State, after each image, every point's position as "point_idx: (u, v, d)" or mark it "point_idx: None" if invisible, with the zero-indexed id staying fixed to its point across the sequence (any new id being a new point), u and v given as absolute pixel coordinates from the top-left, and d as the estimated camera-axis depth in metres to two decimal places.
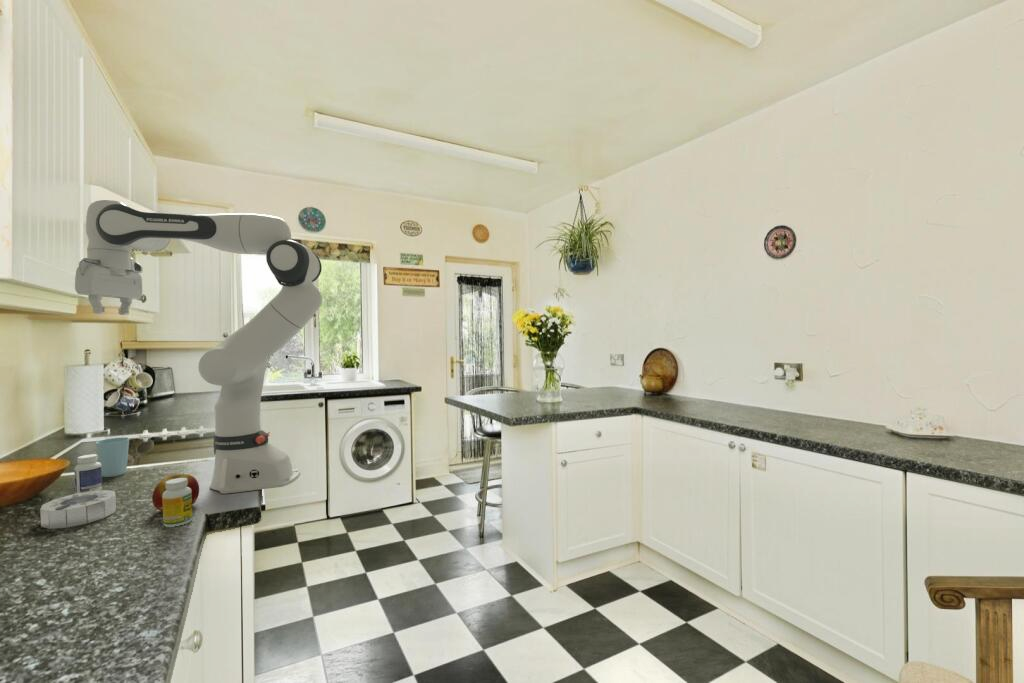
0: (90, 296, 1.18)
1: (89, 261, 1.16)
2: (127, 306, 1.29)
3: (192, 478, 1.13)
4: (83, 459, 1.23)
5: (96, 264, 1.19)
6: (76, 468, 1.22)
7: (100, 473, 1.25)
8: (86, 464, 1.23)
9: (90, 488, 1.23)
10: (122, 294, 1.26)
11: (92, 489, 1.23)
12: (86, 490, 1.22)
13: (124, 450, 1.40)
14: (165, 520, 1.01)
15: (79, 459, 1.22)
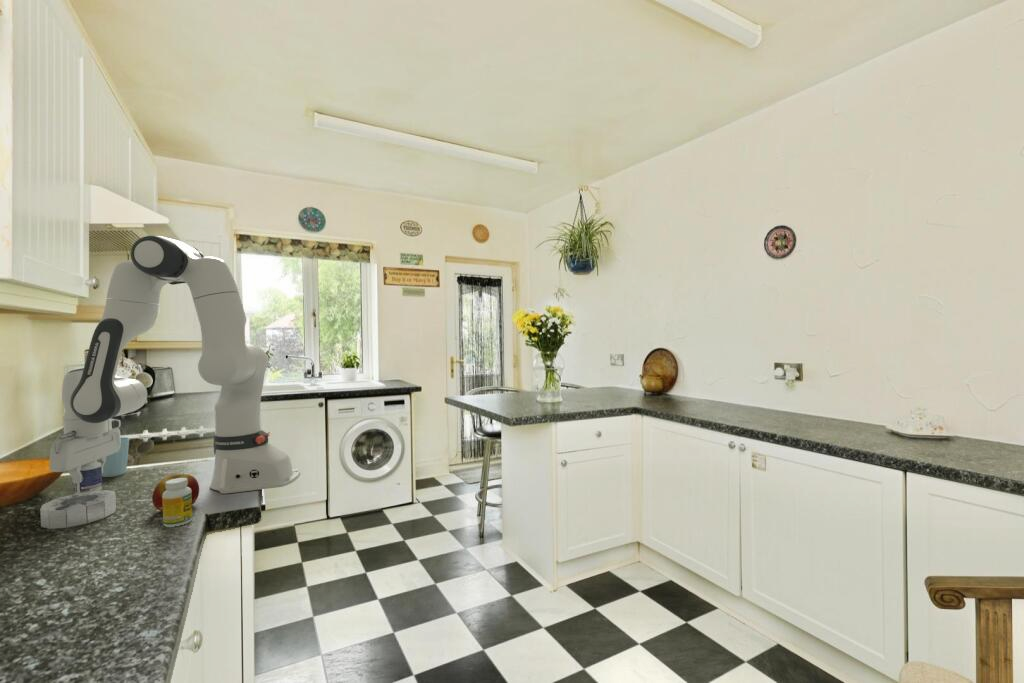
0: None
1: (64, 437, 1.16)
2: (101, 465, 1.28)
3: (192, 478, 1.13)
4: None
5: (72, 436, 1.19)
6: None
7: (100, 473, 1.25)
8: (86, 464, 1.23)
9: (90, 488, 1.23)
10: (99, 456, 1.26)
11: (92, 489, 1.23)
12: (86, 490, 1.22)
13: (124, 450, 1.40)
14: (165, 520, 1.01)
15: None
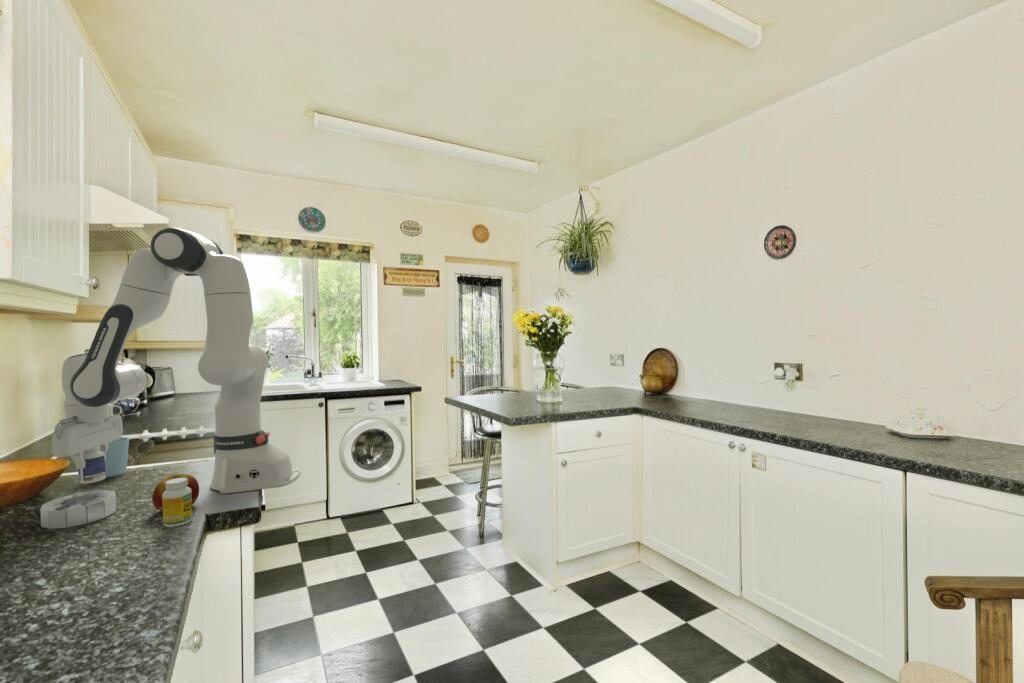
0: None
1: (65, 422, 1.16)
2: (104, 452, 1.28)
3: (192, 478, 1.13)
4: None
5: (73, 422, 1.19)
6: None
7: (103, 462, 1.25)
8: (88, 453, 1.23)
9: (94, 477, 1.23)
10: (101, 442, 1.26)
11: (96, 478, 1.23)
12: (90, 479, 1.22)
13: (124, 450, 1.40)
14: (165, 520, 1.01)
15: None
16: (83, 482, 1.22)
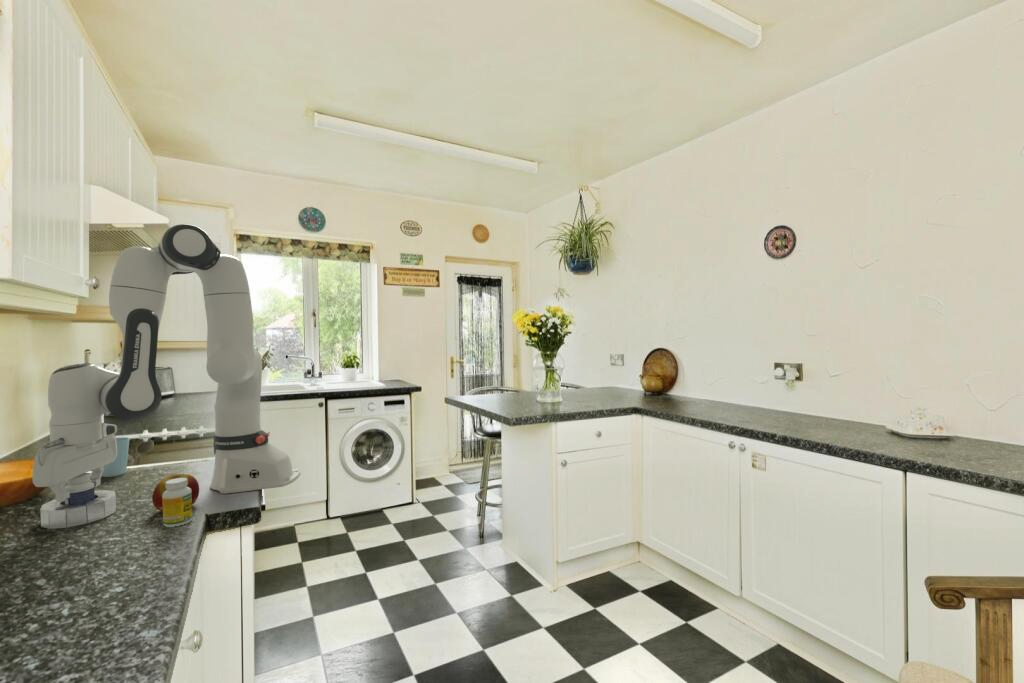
0: None
1: (50, 446, 0.99)
2: (98, 476, 1.12)
3: (192, 478, 1.13)
4: (73, 479, 1.05)
5: (59, 445, 1.02)
6: None
7: (93, 495, 1.08)
8: (76, 485, 1.06)
9: None
10: (92, 467, 1.09)
11: None
12: None
13: (124, 450, 1.40)
14: (165, 520, 1.01)
15: None
16: None
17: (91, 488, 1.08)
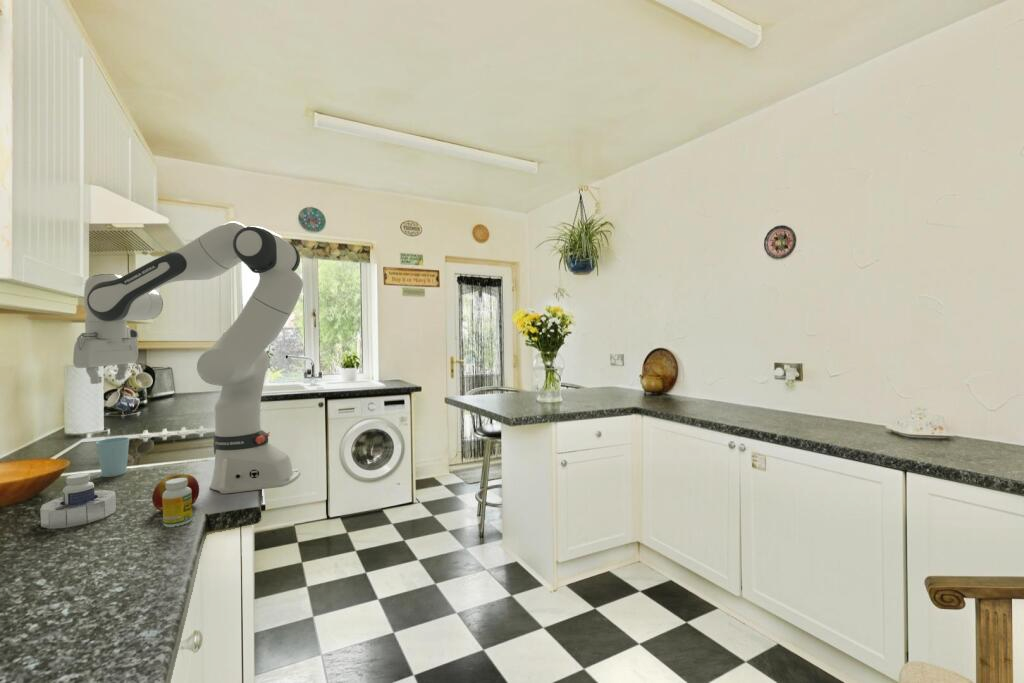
0: (88, 368, 1.23)
1: (87, 335, 1.22)
2: (123, 371, 1.35)
3: (192, 478, 1.13)
4: (73, 479, 1.05)
5: (93, 337, 1.24)
6: (65, 490, 1.05)
7: (93, 495, 1.08)
8: (76, 485, 1.06)
9: None
10: (118, 361, 1.32)
11: None
12: None
13: (124, 450, 1.40)
14: (165, 520, 1.01)
15: (68, 479, 1.05)
16: None
17: (91, 488, 1.08)
